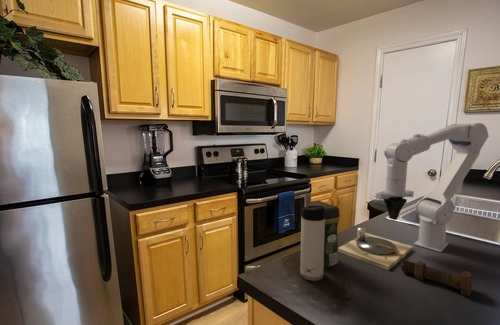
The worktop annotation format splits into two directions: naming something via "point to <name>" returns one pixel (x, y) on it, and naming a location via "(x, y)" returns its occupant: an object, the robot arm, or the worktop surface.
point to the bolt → (439, 276)
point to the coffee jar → (329, 232)
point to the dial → (374, 243)
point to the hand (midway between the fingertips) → (393, 218)
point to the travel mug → (312, 242)
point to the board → (376, 259)
